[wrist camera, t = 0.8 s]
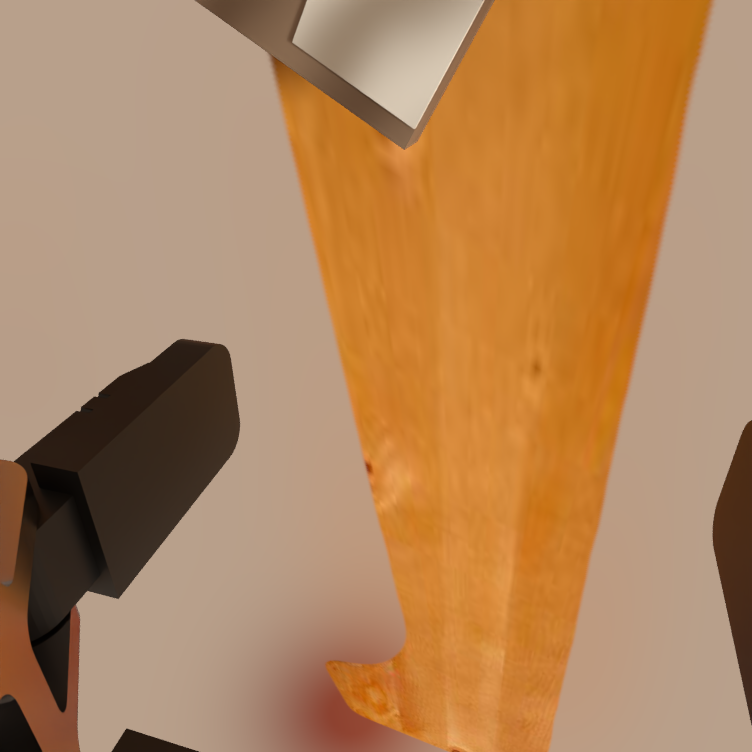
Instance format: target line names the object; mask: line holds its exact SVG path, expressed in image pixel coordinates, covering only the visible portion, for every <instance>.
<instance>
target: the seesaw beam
mask: <svg viewBox="0 0 752 752" xmlns="http://www.w3.org/2000/svg"><path fill="white" fill-rule="evenodd" d="M196 1H197V2H198V3H199V4H201V5H202V6H204V7H205V8H206V9H208V10H210V11H211V12H212V13H214V14H215V15H216V16H218V17H219V18H221V19H222V20H223V21H225V22H226V23H228V24H229V25H230V26H232V27H233V28H235V29H236V30H237V31H239V32H240V33H241V34H243V35H244V36H246V37H247V38H249V39H250V40H251V41H253V42H254V43H255V44H257V45H258V46H260V47H261V48H262V49H264V50H265V51H267V52H268V53H269V54H271V55H272V56H274V57H275V58H276V59H278V60H279V61H281V62H282V63H283V64H285V65H286V66H288V67H289V68H290V69H292V70H293V71H295V72H296V73H297V74H299V75H300V76H302V77H303V78H304V79H306V80H307V81H309V82H310V83H311V84H313V85H314V86H316V87H317V88H318V89H320V90H321V91H323V92H324V93H325V94H327V95H328V96H330V97H331V98H332V99H334V100H335V101H337V102H338V103H339V104H341V105H342V106H344V107H345V108H346V109H348V110H349V111H351V112H352V113H353V114H355V115H356V116H358V117H359V118H360V119H362V120H363V121H365V122H366V123H367V124H369V125H370V126H372V127H373V128H374V129H376V130H377V131H379V132H380V133H381V134H383V135H384V136H386V137H387V138H388V139H390V140H391V141H393V142H394V143H395V144H397V145H398V146H400V147H401V148H403V149H404V150H405V149H406V148H408V147H409V146H411V145H413V144H414V143H416V142H417V141H418V139H419V137H420V136H421V134H422V132H423V130H424V128H425V126H426V125H427V123H428V121H429V119H430V117H431V116H432V114H433V112H434V110H435V108H436V106H437V105H438V103H439V101H440V99H441V97H442V95H443V94H444V92H445V90H446V88H447V86H448V84H449V83H450V81H451V79H452V77H453V75H454V74H455V72H456V70H457V68H458V66H459V64H460V63H461V61H462V59H463V57H464V55H465V53H466V52H467V50H468V48H469V46H470V44H471V42H472V41H473V39H474V37H475V35H476V33H477V31H478V30H479V28H480V26H481V24H482V22H483V21H484V19H485V17H486V15H487V13H488V11H489V10H490V8H491V6H492V4H493V2H494V0H196Z"/></svg>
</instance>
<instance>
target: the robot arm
mask: <svg viewBox="0 0 752 752" xmlns="http://www.w3.org/2000/svg"><path fill="white" fill-rule="evenodd" d="M239 431H240V419H239V412H238V405H237V398H236V391H235V384H234V377H233V371H232V364H231V358H230V354H229V351H228V350H227V348H226V347H225V346H223V345H221V344H215V343H208V342H201V341H193V340H186V339H180V340H177V341H176V342H175V343H173V344H172V345H171V346H170V347H168V348H167V349H166V350H165V351H164V352H162V353H161V354H160V355H159V356H157V357H156V358H155V359H154V360H153V361H151V362H150V363H147V364H145V365H143V366H140V367H138V368H136V369H134V370H132V371H130V372H127V373H125V374H123V375H121V376H119V377H118V378H117V379H116V380H114V381H113V382H112V383H111V384H109V385H108V386H107V387H106V388H105V389H103V390H102V391H101V392H99V396H98V397H93V398H92V399H91V400H89V401H88V402H87V403H86V404H85V405H83V406H82V407H81V411H80V412H79V411H76V412H75V413H73V414H72V415H71V416H70V417H69V418H67V419H66V420H65V421H64V422H62V423H61V424H60V425H59V426H57V427H56V428H55V429H54V430H52V431H51V432H50V433H49V434H47V435H46V436H45V437H44V438H42V439H41V440H40V441H39V442H37V443H36V444H35V445H34V446H32V447H31V448H30V449H29V450H28V451H26V452H25V453H24V454H23V455H21V456H20V457H19V458H18V459H16V460H15V461H14V462H12V461H7V460H0V752H80V748H79V740H78V727H77V726H78V724H77V723H78V722H77V721H78V683H79V642H80V615H79V612H78V609H77V606H76V603H77V602H78V601H79V600H80V598H81V597H82V596H83V595H84V594H85V593H86V592H87V591H90V592H94V593H98V594H102V595H106V596H109V597H113V598H117V599H119V597H120V596H121V595H122V593H123V592H124V591H125V590H126V589H127V587H128V586H129V585H130V583H131V582H132V581H133V580H134V578H135V577H136V576H137V575H138V573H139V572H140V571H141V569H142V568H143V567H144V566H145V564H146V563H147V562H148V560H149V559H150V558H151V557H152V555H153V554H154V553H155V552H156V550H157V549H158V548H159V547H160V545H161V544H162V543H163V541H164V540H165V539H166V538H167V536H168V535H169V534H170V533H171V531H172V530H173V529H174V527H175V526H176V525H177V524H178V522H179V521H180V520H181V519H182V517H183V516H184V515H185V514H186V512H187V511H188V510H189V508H190V507H191V506H192V505H193V503H194V502H195V501H196V500H197V498H198V497H199V496H200V494H201V493H202V492H203V491H204V489H205V488H206V487H207V485H208V484H209V483H210V482H211V480H212V479H213V478H214V477H215V475H216V474H217V473H218V472H219V470H220V469H221V468H222V467H223V465H224V464H225V463H226V461H227V460H228V459H229V458H230V456H231V455H232V453H233V451H234V449H235V447H236V444H237V441H238V437H239ZM713 546H714V552H715V556H716V561H717V566H718V570H719V575H720V580H721V584H722V589H723V594H724V598H725V603H726V608H727V612H728V617H729V621H730V626H731V630H732V636H733V640H734V645H735V649H736V654H737V659H738V664H739V668H740V673H741V677H742V682H743V687H744V691H745V696H746V701H747V706H748V710H749V715H750V720H751V724H752V420H751V421H750V422H748V423H747V425H746V426H745V428H744V430H743V432H742V435H741V437H740V440H739V443H738V446H737V449H736V451H735V454H734V457H733V460H732V463H731V466H730V468H729V471H728V474H727V477H726V480H725V482H724V485H723V488H722V491H721V494H720V497H719V500H718V502H717V506H716V509H715V514H714V521H713ZM112 752H198V751H195V750H192V749H189V748H186V747H183V746H179V745H177V744H173V743H170V742H167V741H164V740H161V739H158V738H155V737H151V736H148V735H145V734H142V733H139V732H136V731H133V730H129V729H126V730H125V732H124V733H123V735H122V736H121V738H120V739H119V741H118V743H117V744H116V746H115V747H114V749H113V751H112Z"/></svg>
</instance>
